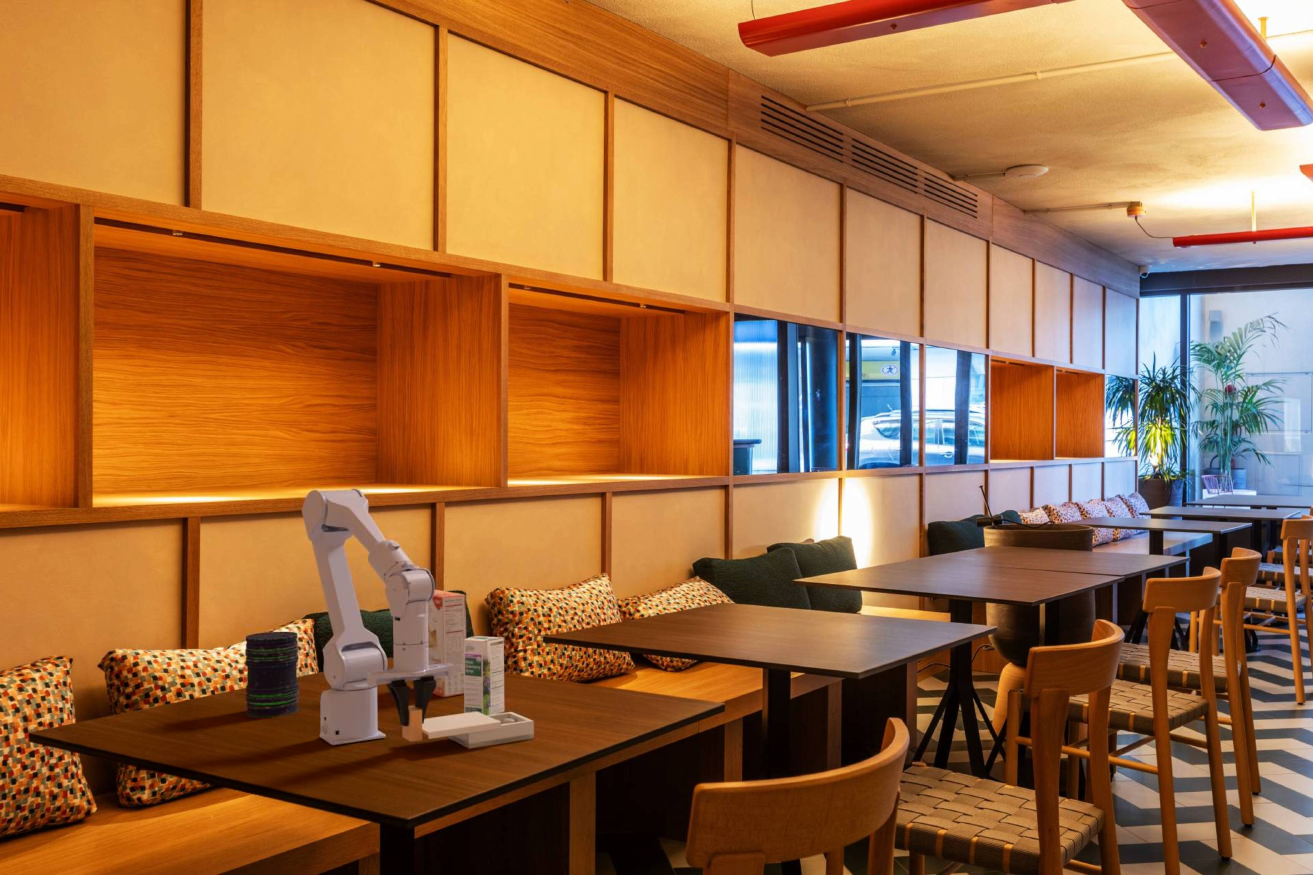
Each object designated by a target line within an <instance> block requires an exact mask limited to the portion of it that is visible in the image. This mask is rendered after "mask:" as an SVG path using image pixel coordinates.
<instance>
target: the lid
mask: <svg viewBox="0 0 1313 875" xmlns="http://www.w3.org/2000/svg"><path fill="white" fill-rule="evenodd" d="M408 709H409V726H403V725H401V726H402V729H401V731H402V738H404V739H405V740H407V741H409V742H410V743H411V742H418V741H423V734H425V735H427V736H428V739H429V740H430V739H437V738H444V737H449V736H451V735H458V734H464V733H471V732H478V731H484V730H491V729H497V728H501V722H500V721H498V720H495V719H493V718H491V717H488V716H486V715H484V714H482V713H479V712H477V711H476V712H469V713H464V712H463V713H458V714H457V713H455V714H449V715H443V716H435V717H429V718H424V724H422V709H419V708H417V707H415V705H408Z"/></svg>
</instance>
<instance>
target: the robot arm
mask: <svg viewBox="0 0 1313 875" xmlns="http://www.w3.org/2000/svg"><path fill="white" fill-rule="evenodd" d="M302 505H303V506H302V507H301V508H302V509H301V513H302V518H303V521H304V527H305V531H306V534H307V535H306V536H307V539H308V540H309V541H310V542H311V546H312V550H313V554H314V558H315V562H316V567H317V571H318V576H319V579H320V583H321V588H322V592H323V596H324V597H323V598H324V600H325V605H326V609H327V613H328V616H329V621H330V626H331V630H332V634H333V635H332V637H331V638H330V639H329V641H327V642H326V644H325V646H324V647H323V648H322V653H323V654H322V655H323V674H324V678H325V680H326V681H327V683H328V684H329V685H330V688H331V689H328V690H323V691H322V693H321V695H320V704H319V705H320V710H319V711H320V733H319V737H320V738H321V739H323V740H324V741H326V742H327V743H328V744H330V745H331V746H336V745H343V744H351V743H355V742H356V743H357V742H362V741H363V742H364V741H368V740H376V739H383V738H386V734H385V733H383V732H382V731H380V730H378V728H379V727H378V723H379V722H378V721H379V720H378V686H379V685H386V687H387V689H388V692H389V693H390V694H391V697H392V699H393V702H394V704H395V707H396V710H397V713H398V718H399V724H400V726H402V725H403V726H409V709H408V706H410V705H409V701H410V692H411V687H410V686H409V685H408V684H407V682H410V681H412V687H413V686H414V688H413V692H414V693H413V694H414V701H415V702H414V703H415V704H414V706H415V707H417V708H419V709H422V724H424V719H426V713H427V709H428V706H429V704H430V700H431V698H432V696H433V694H432V693H433V691H434V690H435V688H436V684H437V681H436V680H434V678H436V677H444V676H448V677H451V676H454V665H453V664H450V663H448V664H435V665H429V658H428V602H429V601H431V599H432V598H433V596H434V593H435V590H436V583H435V579H434V576H433V575H432V574H431V571H430V570H429V569H427V568H425V567H424V568H421V567H420V566H419V565H415V564H414V563H413V561H412V560H411V559H410V557H408V555H407V553H405V552H404V550H403V548H402V547H401V544H399V542H398V541H396V540H391V539H386V538H385V536H384V535H383V533H382V531H381V530H380V529H379V527H378V526H377V523H376V522H375V520H374V519H373V518H372V516H371V515H370V513H369V500H368V498H366V497H365V495H364V493H363V492H362V491H361V489H358V488H351V489H339V490H338V489H334V490H333V489H332V490H331V489H330V490H329V489H328V490H319V489H313V490H310V491H309V492H308V493H307V495H306V496H305V499H304V502H303V504H302ZM353 536H354V537H355V539H357V541H358V542H359V543H360V544H361V545H362V546H363V547H364V549H366V550H367V551H368V552H369V553H368V554H367V555H368V557H367V560H368V563H369V565H370V566H371V568H372V569H373V570H374V572H375V573H376V574H377V575H378V577H379V578H380V580H381V581H382V582H383V583H384V585H385V586H386V587H384V592H385V593H384V594H385V597H386V600H387V602H388V606H389V613H390V616H391V617H392V621H393V622H392V626H393V629H392V630H393V632H392V633H393V635H392V636H393V668H388V658H387V655H386V653H385V651H384V649H383V648H382V646H381V644H380V640H379V637H378V636H377V635H376V634H375V633H373V632H371V631H370V630H368V629H367V628H366V627H364V624H363V618H362V615H361V610H360V606H359V602H358V599H357V595H356V591H355V586H354V581H353V578H352V573H351V570H350V567H349V566H350V565H349V562H348V559H347V558H348V557H347V555H346V554H347V553H346V551H345V542H346V540H348V539H350V538H352V537H353Z"/></svg>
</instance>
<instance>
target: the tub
mask: <svg viewBox="0 0 1313 875" xmlns="http://www.w3.org/2000/svg"><path fill="white" fill-rule="evenodd" d="M486 716H488V717H491V718H493V719H495V720H498V721H500V722H501V728H497V729H491V730H484V731H478V732H471V733H464V734H458V735H451V736H448V739H450V740H451V741H453V742H456V743H458V744H460V745H462V746H463V747H465V748H467V749H476V748H483V747H487V746H488V747H489V746H495V745H501V744H507V743H512V742H520V741H527V740H531V739H534V738H535V729H534V728H535V722H534V720H532V719H530V718H527V717H525V716H522V715H520V714H519V713H515V712H513V711H508V712H502V713H499V714H493V715H486Z"/></svg>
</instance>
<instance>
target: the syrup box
mask: <svg viewBox="0 0 1313 875" xmlns="http://www.w3.org/2000/svg"><path fill="white" fill-rule="evenodd" d="M504 641H505V640H504V637H496V636H484V635H482V636H481V635H478V636H477V635H476V636H470V637H468V638H467V637H466V639H465V640H464V694H463V695H464V696H463V697H464V698H463V702H464V704H463V713H469V712H476V711H477V712H479V713H482V714H484V715H493V714H500V713H505V654H504V653H505V648H504V646H505V645H504V644H505V642H504Z"/></svg>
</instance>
